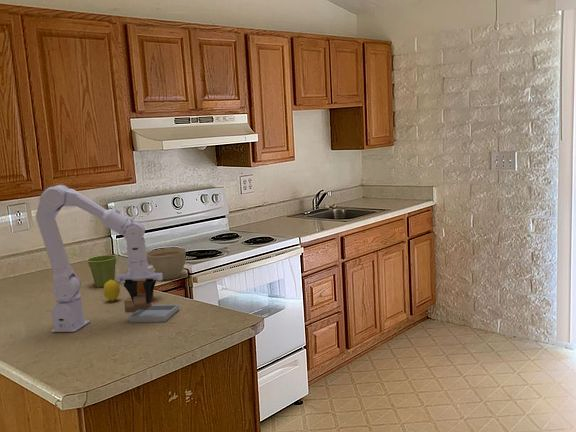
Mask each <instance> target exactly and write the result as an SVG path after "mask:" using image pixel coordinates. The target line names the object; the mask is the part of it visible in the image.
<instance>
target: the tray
mask: <svg viewBox="0 0 576 432" xmlns="http://www.w3.org/2000/svg"><path fill="white" fill-rule="evenodd" d="M179 311H180V304H161V305H160V304H157V305H156V304H154V305H153V304H152V306H151V307H149V308H148V309H147V310H137V311H136V312H132V313H131V314H130V315H129V316H128V317H127V318H128V323H130V324H131V323H132V324H133V323H166V322H167V321H168V320H169V319H170V318H172V317H173V316H174V315H175V314H177V313H178V312H179Z"/></svg>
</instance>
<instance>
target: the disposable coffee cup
mask: <svg viewBox="0 0 576 432" xmlns="http://www.w3.org/2000/svg"><path fill="white" fill-rule="evenodd" d="M154 271H155V269H154V267H153V265H148V272H151V273H154ZM129 273H130V272H129V268H128V269H127V272H126V274H129ZM145 281H146V280H140V281H137V294H146V293H145V289H144V286H143V283H144V282H145ZM154 289H155V288H154ZM154 289H153V294H152V301H153V300H154V295H155V294H154Z"/></svg>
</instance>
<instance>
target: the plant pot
mask: <svg viewBox="0 0 576 432" xmlns="http://www.w3.org/2000/svg"><path fill="white" fill-rule="evenodd" d="M117 258H118V255H115V254H102V255H101V254H100V255H97V256H96V255H95V256H91V257H89V258H87V259H86V260H85V261H86V262H87V264H88V266H89V268H90V271H91V275H92V278H93V281H94V286H95V287H96V288H102V287H103V288H104V285H105V283H106V282H107V281H109V280H113V281H115V280H116V279H115V277H116V275H115V274H116V270H115V269H116V262H117Z"/></svg>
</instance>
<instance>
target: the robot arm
mask: <svg viewBox="0 0 576 432" xmlns="http://www.w3.org/2000/svg"><path fill="white" fill-rule="evenodd" d="M38 200H39V202H38V204H37V205H38V206H37V208H36V209H37V210H36V213H35V218H36V222H37V226H38V229H39V232H40V235H41V238H42V241H43V245H44V247H45V251H46V253H47V257H48V259H49V263H50V266H51V269H52V271H53V272H52V273H53V275H52V283H53V289H52V293H53V296H54V297H55V300H56V303H55V305H54V306H52V307H53V308H52V309H51V319H52V327H53V329H51V333H66V332H67V333H70V332H71V333H72V332H77V331H78V330H80V329H81V328H82V327H84V326H86V325H87V324H89V323H90V322H91V320H89V319H88V320H85V316H84V310H83V309H84V307H83V302H82V301H83V300H82V295H81V293H80V290H81V288H82V282H81V279H80V278H79V277H78V276H77V275H76V273H75V269H74V268H73V267H72V266H71V264H70V261H69V258H68V254H67V251H66V248H65V245H64V242H63V238H62V235H61V232H60V230H59V226H58V222H57V220H56V217H57V215H58V214H59V212H60V211H61V209H62V208H63V207H66V208H67V207H78V208H79V209H81V210H83V211H85V212H87V213H89V214H91V215H93V216H94V217H97V218H98V219H100V220H101V223H102V225H103V226H104V227H106V228H108V229H110V230H112V231H113V232H115V233H116V234H118V235H121V236H123V237H124V239H125V240H126V252H127V253H126V254H127V262H128V269H129V272H130V273H129V274H127V273H123V274H121V273H119V274H117V275H116V282H117V283H120V282H124V283H123V287H124V288H125V290H126V291H127V292H128V294H129V297H131V299H132V301H133V304H134V300H133V297H135V296H136V295H138V294H137V281H140V280H146V281H145V282H144V283H143V286H144V289H145V293H146V301H147V304H149V303H151V304H152V302H153V300H152V294H153V289H155V287H156V283H157V281H163V280H162V279H163V275H162V273H151V272H148V262H147V254H146V253H147V246H146V244H145V243H146V240H145V237H144V236H145V232H146V229H145V226H144V225H143V224H142V223H141V222H140V221H138V220H135V219H134V218H133V217H128V216H126V215H125V214H123V213H121V210H120V209H114V208H110V209H106V208H104V207H103V206H101V205H99V204H98V203H96V202H95V201H93V200H92V199H90V198H89V197H87V196H86V195H84V194H82V193H80V192H78V191H77V190H75V189H73V188H70V187H69V186H67V185H64V184H57V185H55V186H50V187H47V188H46V189H45V190H43V192H42V194H41V195H40V196H39V199H38ZM153 295H154V294H153Z"/></svg>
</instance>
